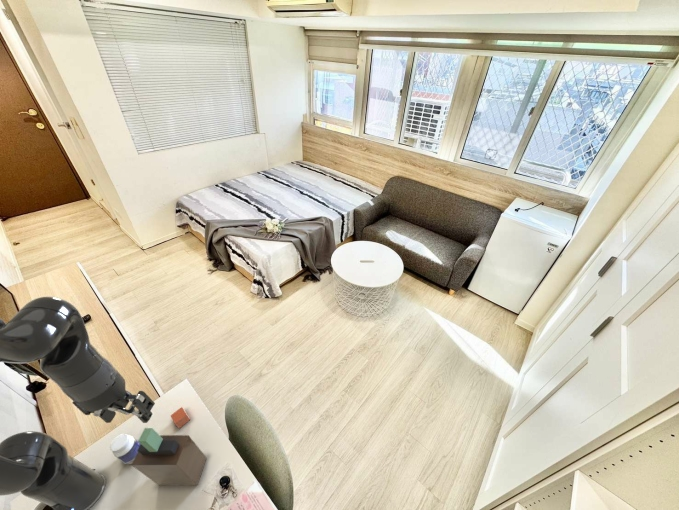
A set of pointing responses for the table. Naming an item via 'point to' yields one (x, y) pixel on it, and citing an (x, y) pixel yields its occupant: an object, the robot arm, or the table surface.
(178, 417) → the orange red cube
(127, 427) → the table surface
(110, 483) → the table surface
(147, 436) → the wiper
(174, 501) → the table surface
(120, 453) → the pill bottle
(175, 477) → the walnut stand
